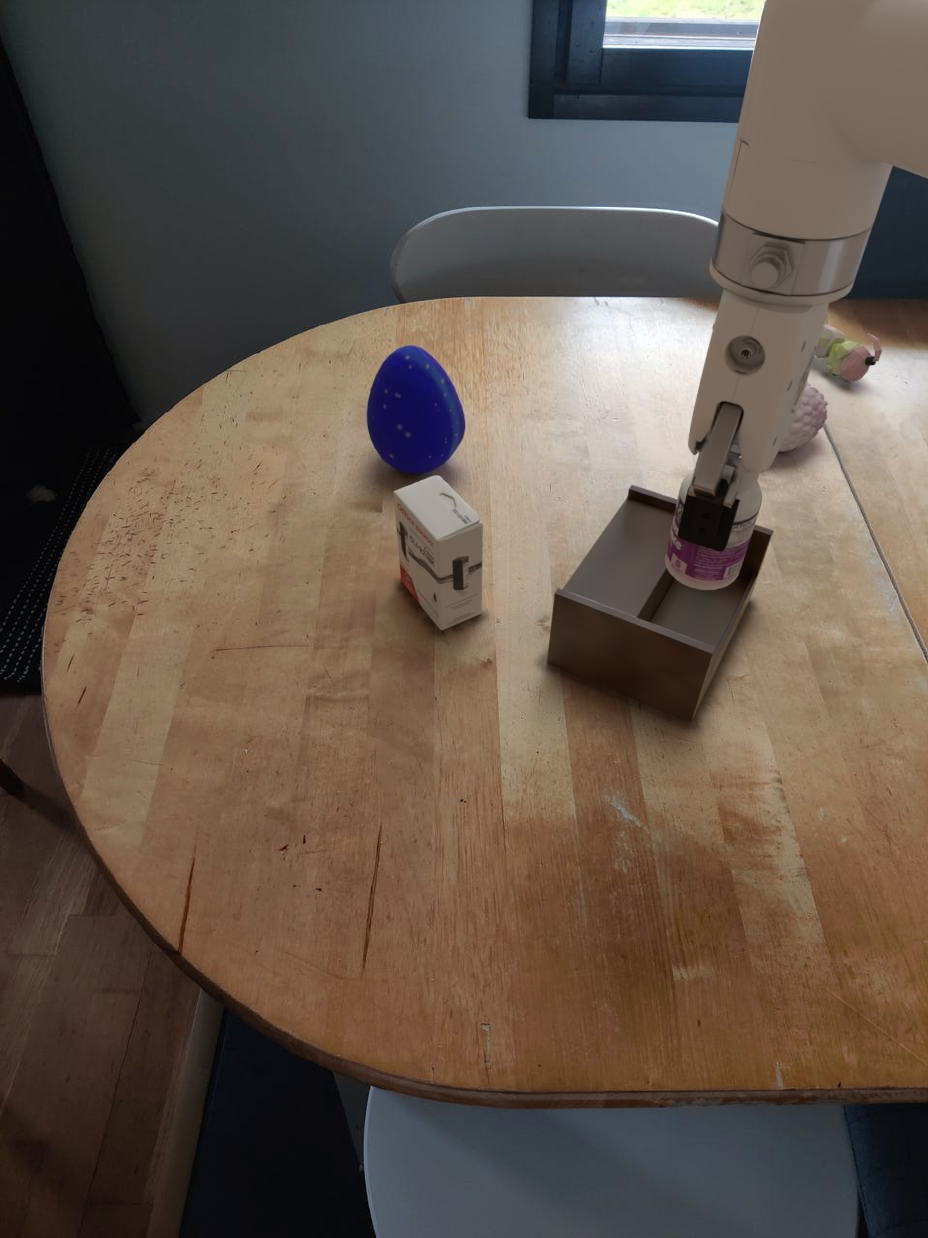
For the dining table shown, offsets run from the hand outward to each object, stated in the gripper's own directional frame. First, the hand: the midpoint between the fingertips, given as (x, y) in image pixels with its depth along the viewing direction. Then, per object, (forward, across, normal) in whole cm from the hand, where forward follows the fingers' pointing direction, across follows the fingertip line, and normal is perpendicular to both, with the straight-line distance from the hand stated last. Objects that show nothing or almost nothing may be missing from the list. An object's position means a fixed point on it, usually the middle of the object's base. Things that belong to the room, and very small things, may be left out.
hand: (715, 514), depth 58 cm
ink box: (+23, +4, +25) cm, 34 cm away
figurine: (+23, +68, +2) cm, 72 cm away
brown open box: (+23, +10, +4) cm, 26 cm away
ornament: (+23, +22, +38) cm, 50 cm away
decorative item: (+23, +47, +3) cm, 53 cm away
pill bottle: (+5, 0, 0) cm, 5 cm away
